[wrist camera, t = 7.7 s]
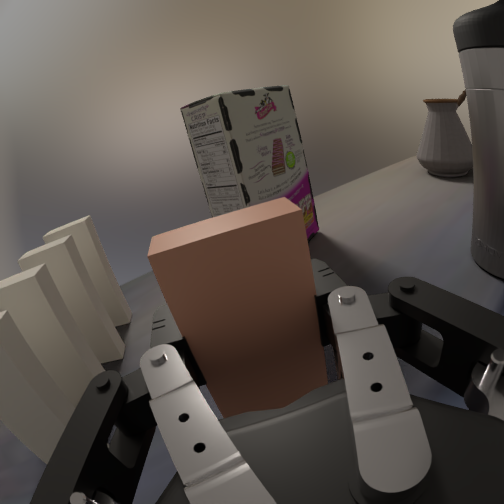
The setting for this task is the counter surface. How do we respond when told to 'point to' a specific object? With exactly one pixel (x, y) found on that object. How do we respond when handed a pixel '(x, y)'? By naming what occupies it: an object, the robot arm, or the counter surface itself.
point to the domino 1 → (95, 267)
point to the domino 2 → (78, 295)
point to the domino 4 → (29, 394)
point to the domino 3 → (50, 330)
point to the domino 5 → (245, 304)
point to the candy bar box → (250, 151)
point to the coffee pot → (445, 140)
